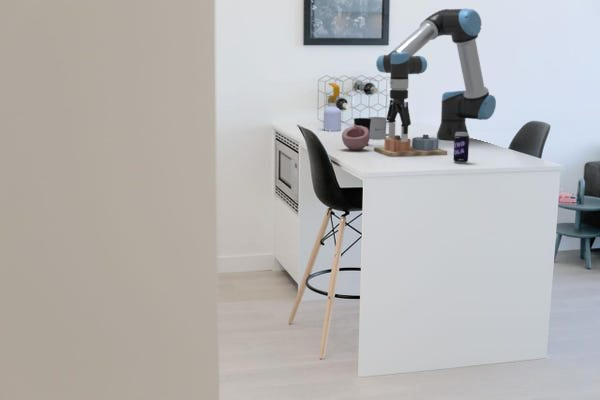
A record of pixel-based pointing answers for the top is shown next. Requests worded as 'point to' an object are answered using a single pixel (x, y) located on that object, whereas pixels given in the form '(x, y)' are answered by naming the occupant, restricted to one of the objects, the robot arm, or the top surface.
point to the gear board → (409, 153)
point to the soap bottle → (333, 112)
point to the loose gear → (396, 145)
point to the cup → (363, 123)
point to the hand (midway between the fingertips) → (397, 139)
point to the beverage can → (461, 147)
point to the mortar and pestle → (356, 137)
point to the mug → (378, 128)
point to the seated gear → (425, 143)
